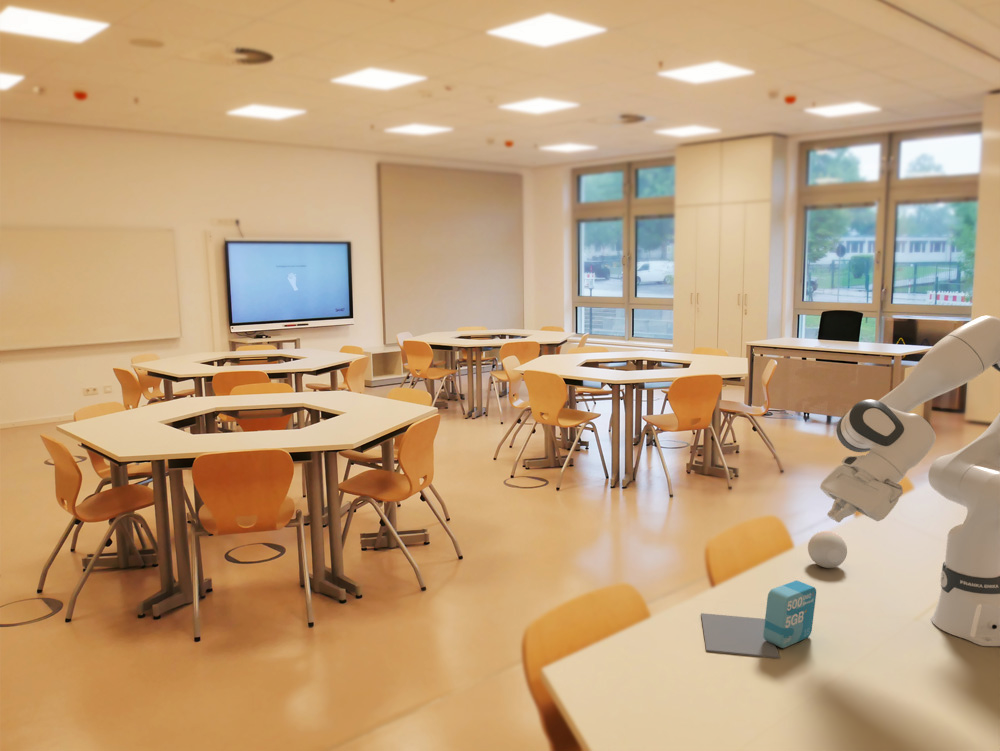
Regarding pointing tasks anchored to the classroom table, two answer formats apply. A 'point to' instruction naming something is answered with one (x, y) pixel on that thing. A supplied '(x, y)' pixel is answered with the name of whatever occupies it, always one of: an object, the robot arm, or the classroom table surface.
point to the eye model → (827, 549)
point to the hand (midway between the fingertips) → (832, 518)
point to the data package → (789, 613)
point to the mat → (737, 636)
